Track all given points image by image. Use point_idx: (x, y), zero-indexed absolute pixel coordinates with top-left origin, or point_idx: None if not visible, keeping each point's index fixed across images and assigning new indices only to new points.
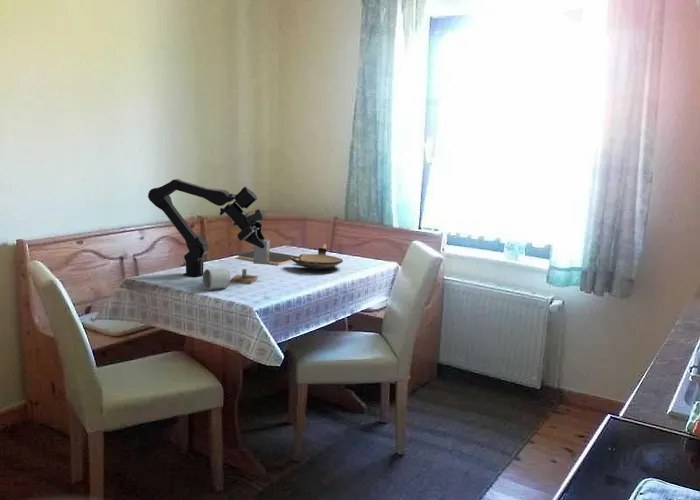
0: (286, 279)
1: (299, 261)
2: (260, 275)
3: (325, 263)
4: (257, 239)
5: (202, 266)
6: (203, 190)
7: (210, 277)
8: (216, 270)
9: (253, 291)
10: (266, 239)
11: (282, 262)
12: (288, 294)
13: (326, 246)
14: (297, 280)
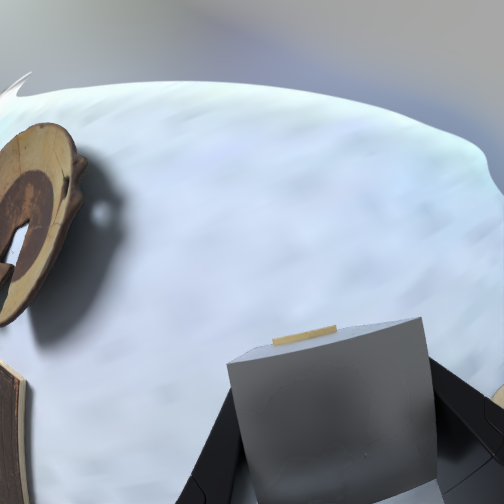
0: (243, 251)
1: (60, 243)
2: (221, 404)
3: (71, 138)
4: (494, 414)
5: None
6: None
7: None
8: None
9: (492, 279)
10: (245, 412)
11: (7, 369)
12: (452, 154)
13: None
14: (238, 199)
